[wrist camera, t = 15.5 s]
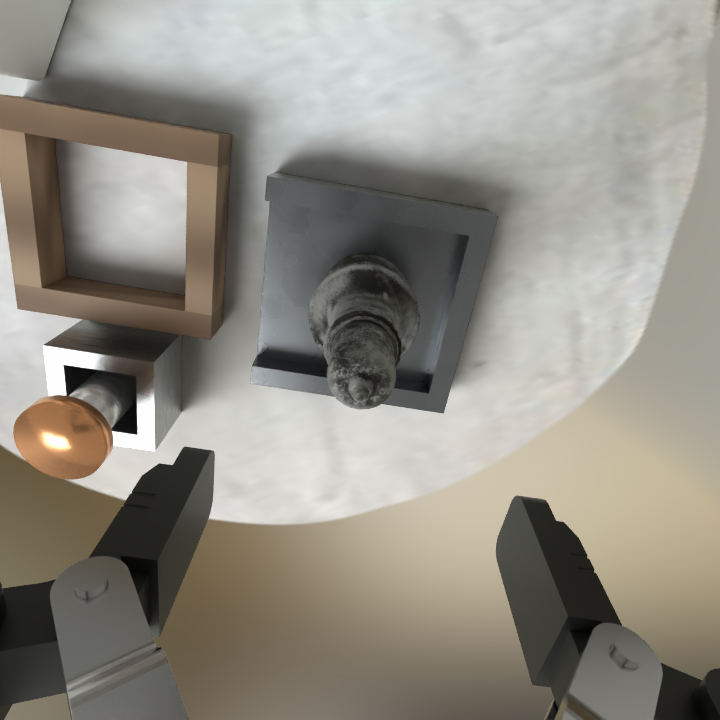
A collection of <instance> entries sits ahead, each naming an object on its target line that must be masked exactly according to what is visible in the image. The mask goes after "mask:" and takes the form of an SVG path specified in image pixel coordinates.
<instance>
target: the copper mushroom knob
mask: <svg viewBox="0 0 720 720" xmlns="http://www.w3.org/2000/svg"><path fill="white" fill-rule="evenodd" d="M136 400H137V392H136V376H134V375H128V374H121V373H115V372H108V371H101V370H98V371H97V372H95V373H94V374H93V375H92V376H91V377H90V378H89V379H87V380H86V381H85V382H84V383H83V384H82V385H81V386H79V387H78V388H77V389H76V390H75V391H74V392H73V393H71V394H70V395H69V396H67V395H52V396H47V397H44V398H42V399H40V400H38V401H37V402H35V403H34V404H33V405H32V406H30V407H29V408H28V409H27V410H25V411H24V412H23V413H22V414H21V415H20V416H19V417H18V418H17V420H16V422H15V425H14V431H13V434H14V440H15V443H16V446H17V448H18V450H19V452H20V453H21V454H22V456H23V457H24V458H25V459H26V460H27V461H28V462H29V463H30V464H31V465H32V466H34V467H35V468H36V469H38V470H40V471H41V472H43V473H45V474H48V475H50V476H53V477H57V478H62V479H80V478H84V477H86V476H89V475H91V474H92V473H94V472H95V471H96V470H97V469H98V468H99V467H100V466H101V464H102V463H103V462H104V461H105V459H106V458H107V457H108V456H109V454H110V453H111V451H112V448H113V443H114V438H113V432H112V429H111V428H112V427H113V426H114V425H115V424H116V423H117V422H118V420H119V419H120V418H121V417H122V416H123V415H124V414H125V412H126V411H127V410H128V409H129V408H130V407H131V406H132V404H133V403H134V402H135V401H136Z"/></svg>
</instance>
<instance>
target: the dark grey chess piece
mask: <svg viewBox="0 0 720 720" xmlns="http://www.w3.org/2000/svg"><path fill="white" fill-rule="evenodd" d="M308 320H309V328H310V331H311V334H312V336H313V339H314V341H315V343H316V344H317V345H318V347H319V348H320V349H321V351H322V352H323V353H324V356H325V358H326V361H327V363H328V369H327V381H328V385H329V387H330V390H331V392H332V394H333V395H334V396H335V397H336V399H337V400H339V401H340V402H341V403H343V404H344V405H346V406H349V407H351V408H355V409H370V408H373V407H377V406H378V405H380V404H382V403H384V402H385V401H386V400H387V399H388V398H389V396H390V395H391V393H392V391H393V389H394V386H395V382H396V367H397V365H398V363H399V362H400V358H401V356H402V355H403V354H404V353H405V352H406V351H407V350H408V349H409V348H410V347H411V345H412V343H413V341H414V340H415V338H416V336H417V332H418V329H419V325H420V308H419V305H418V302H417V299H416V295H415V294H414V292H413V291H412V289H411V288H410V286H409V284H408V283H407V281H406V278H405V277H404V275H403V274H402V272H401V271H400V269H399V268H398V267H396V266H395V265H394V264H393V263H392V262H391V261H389V260H387V259H385V258H383V257H381V256H377V255H372V254H356V255H353V256H350V257H347V258H344V259H343V260H341V261H340V262H338V263H337V264H335V265H334V266H333V267H332V269H331V270H330V271H329V272H328V273H327V275H326V277H325V279H324V280H323V281H322V283H321V284H320V285H319V286H318V287H317V288H316V290H315V292H314V295H313V297H312V299H311V301H310V306H309V312H308Z"/></svg>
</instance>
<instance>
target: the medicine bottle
mask: <svg viewBox="0 0 720 720" xmlns="http://www.w3.org/2000/svg"><path fill="white" fill-rule="evenodd" d="M70 3H71V0H0V75H4V76H11V77H17V78H23V79H30V80H36V81H39V80H43V79H44V77H45V75H46V72H47V69H48V66H49V63H50V60H51V57H52V55H53V52H54V49H55V46H56V43H57V40H58V37H59V34H60V31H61V29H62V26H63V23H64V20H65V17H66V14H67V11H68V8H69V5H70Z"/></svg>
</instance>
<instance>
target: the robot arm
mask: <svg viewBox="0 0 720 720" xmlns="http://www.w3.org/2000/svg"><path fill="white" fill-rule="evenodd" d="M214 461H215V454H214V451H211V450H204V449H198V448H191V447H184V448H183V449H182V450H181V452H180V454H179V456H178V457H177V459H176V461H175V462H174V464H173V465H166V464H158V465H156V466H155V467H154V468H152V469H151V470H149V471H148V472H147V473H145V474H144V475H142V477H141V478H140V480H139V481H138V483H137V484H136V486H135V488H134V489H133V491H132V494H130V495H129V497H128V498H127V500H126V501H125V503H124V506H123V507H122V508H121V509H120V511H119V512H118V514H117V515H116V517H115V518H114V520H113V522H112V523H111V525H110V526H109V528H108V529H107V531H106V532H105V534H104V535H103V537H102V538H101V540H100V542H99V543H98V545H97V546H96V548H95V549H94V551H93V552H92V554H91V555H90V557H89V558H87V559H84V560H81V561H78V562H77V563H75V564H73V565H71V566H70V567H68V568H67V569H65V570H64V571H63V572H62V573H61V574H60V575H59V576H58V577H57V578H56V579H55V580H52V581H48V582H44V583H39V584H32V585H24V586H17V587H10V588H3V589H2V585H1V583H0V720H4V719H5V716H6V715H7V713H8V711H9V710H10V708H11V706H12V704H14V703H19V702H24V701H28V700H33V699H38V698H43V697H47V696H52V695H56V694H61V693H66V697H67V702H68V707H69V712H70V718H71V720H189V717H188V714H187V712H186V709H185V706H184V704H183V701H182V698H181V695H180V693H179V690H178V687H177V684H176V682H175V679H174V676H173V673H172V670H171V667H170V665H169V662H168V660H167V657H166V655H165V653H164V651H163V649H162V648H161V647H160V648H157V647H156V645H155V642H154V640H153V637H152V636H158V637H159V636H160V634H161V632H162V630H163V627H164V625H165V622H166V620H167V618H168V615H169V613H170V610H171V608H172V605H173V603H174V601H175V598H176V596H177V593H178V591H179V589H180V586H181V584H182V581H183V579H184V577H185V574H186V572H187V569H188V567H189V564H190V562H191V560H192V557H193V555H194V552H195V550H196V547H197V545H198V543H199V540H200V538H201V535H202V533H203V530H204V528H205V526H206V523H207V521H208V518H209V515H210V511H211V507H212V501H213V485H214ZM496 557H497V562H498V566H499V569H500V573H501V576H502V580H503V584H504V587H505V590H506V594H507V598H508V601H509V605H510V608H511V612H512V615H513V619H514V622H515V626H516V629H517V633H518V636H519V640H520V643H521V646H522V650H523V654H524V657H525V661H526V664H527V668H528V671H529V675H530V678H531V682H532V685H536V686H545V687H551V689H552V693H553V696H554V700H553V702H552V704H551V705H550V707H549V710H548V712H547V715H546V717H545V719H544V720H720V669H713V670H711V671H710V672H708V674H707V675H706V676H705V677H704V679H703V680H700V679H697V678H695V677H692V676H690V675H688V674H685V673H683V672H681V671H678V670H676V669H673V668H671V667H669V666H667V665H664V664H662V663H660V661H659V659H658V657H657V655H656V654H655V652H654V651H653V649H652V648H651V647H650V646H649V645H648V644H647V643H646V641H645V640H643V639H642V638H641V637H640V636H639V635H637V634H636V633H634V632H633V631H631V630H630V629H628V628H626V627H624V626H622V624H621V622H620V620H619V618H618V616H617V614H616V612H615V610H614V608H613V606H612V604H611V602H610V600H609V598H608V596H607V594H606V592H605V590H604V588H603V586H602V584H601V582H600V580H599V578H598V576H597V574H596V573H594V568H593V566H592V564H591V562H590V560H589V559H587V554H586V552H585V550H584V548H583V546H582V544H581V542H580V540H579V538H578V537H577V536H576V535H575V534H574V533H573V531H572V530H571V529H570V528H569V527H568V526H567V525H566V524H565V523H564V522H559V521H556V520H555V518H554V515H553V514H552V511H551V509H550V507H549V505H548V503H547V502H546V500H543V499H537V498H530V497H523V496H515V497H514V499H513V500H512V502H511V504H510V507H509V510H508V513H507V515H506V517H505V520H504V523H503V525H502V528H501V530H500V533H499V535H498V539H497V544H496Z"/></svg>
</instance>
